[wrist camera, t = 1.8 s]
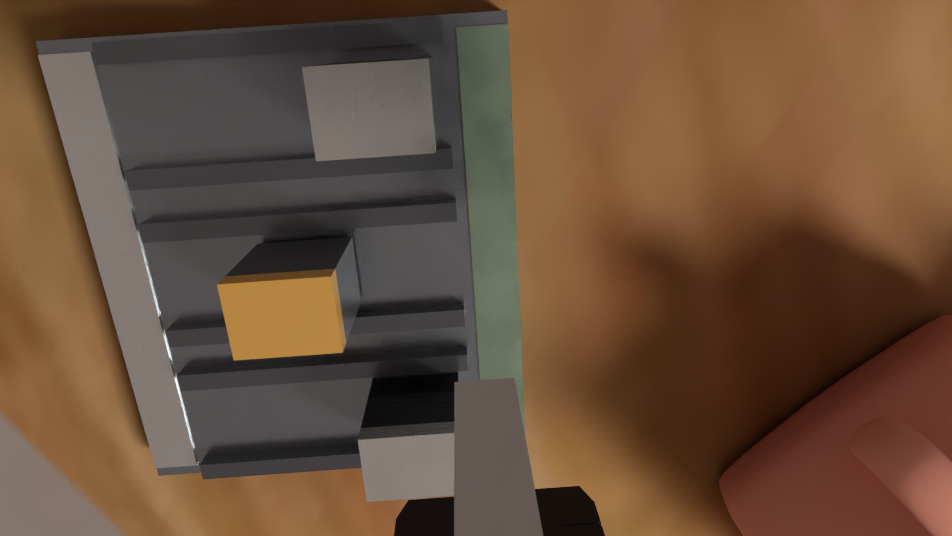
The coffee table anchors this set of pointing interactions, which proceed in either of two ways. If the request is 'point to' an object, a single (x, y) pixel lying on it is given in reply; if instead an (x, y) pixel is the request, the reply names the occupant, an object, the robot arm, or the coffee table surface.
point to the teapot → (858, 452)
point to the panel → (302, 231)
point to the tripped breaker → (291, 299)
